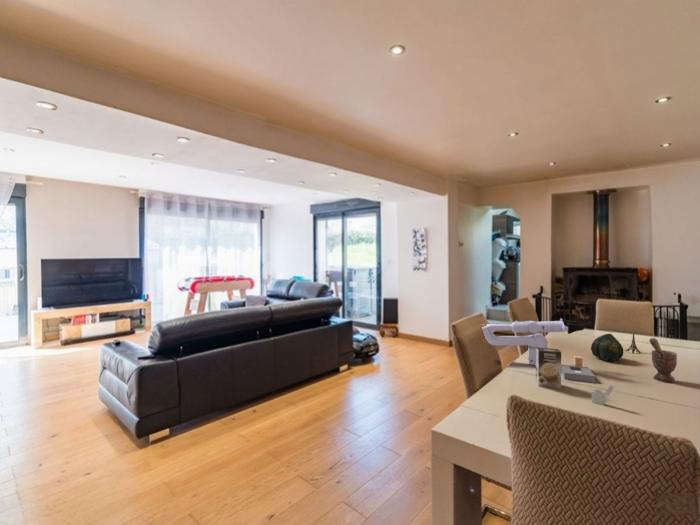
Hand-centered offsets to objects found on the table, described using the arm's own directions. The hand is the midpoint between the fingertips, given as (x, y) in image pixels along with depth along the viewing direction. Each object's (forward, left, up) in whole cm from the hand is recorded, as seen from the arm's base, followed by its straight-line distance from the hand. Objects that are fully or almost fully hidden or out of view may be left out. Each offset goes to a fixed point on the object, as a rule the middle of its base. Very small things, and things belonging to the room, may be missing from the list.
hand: (581, 326), depth 177 cm
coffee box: (-19, -33, -22) cm, 44 cm away
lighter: (-2, -48, -22) cm, 53 cm away
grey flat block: (-5, -15, -22) cm, 27 cm away
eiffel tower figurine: (+35, +46, -23) cm, 62 cm away
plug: (-2, -2, -22) cm, 22 cm away
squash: (+16, +23, -22) cm, 36 cm away
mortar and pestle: (+30, -8, -22) cm, 38 cm away
